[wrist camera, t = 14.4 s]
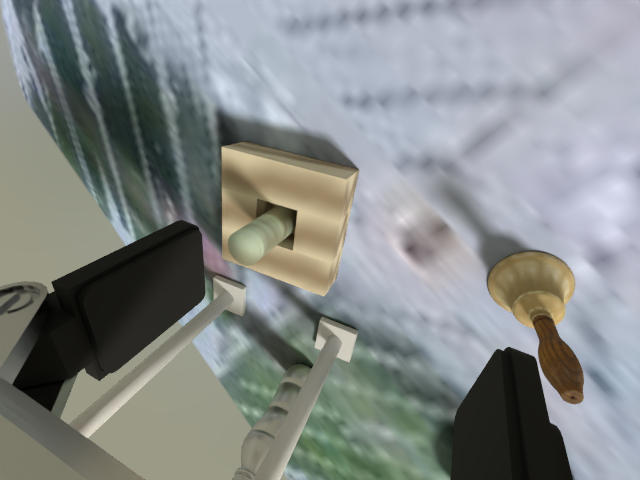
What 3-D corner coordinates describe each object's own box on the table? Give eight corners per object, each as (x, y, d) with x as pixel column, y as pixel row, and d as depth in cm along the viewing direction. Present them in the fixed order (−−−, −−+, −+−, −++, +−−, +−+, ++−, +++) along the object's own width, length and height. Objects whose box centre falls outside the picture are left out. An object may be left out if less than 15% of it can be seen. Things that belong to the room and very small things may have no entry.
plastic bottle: (283, 367, 58) (211, 480, 41) (302, 352, 54) (233, 469, 37) (308, 391, 58) (247, 513, 41) (329, 378, 54) (272, 506, 38)
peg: (278, 197, 42) (227, 227, 33) (305, 205, 41) (260, 238, 32) (276, 223, 44) (227, 258, 35) (301, 231, 43) (258, 270, 34)
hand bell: (478, 260, 37) (490, 358, 23) (565, 242, 32) (640, 349, 19) (498, 318, 38) (519, 439, 25) (581, 308, 34) (660, 447, 21)
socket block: (245, 141, 42) (221, 146, 37) (359, 169, 37) (346, 179, 33) (242, 244, 49) (222, 258, 45) (336, 277, 45) (324, 296, 41)
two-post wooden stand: (216, 235, 51) (-129, 439, 21) (369, 289, 44) (182, 710, 14) (217, 301, 57) (-43, 528, 28) (350, 357, 50) (196, 741, 21)
